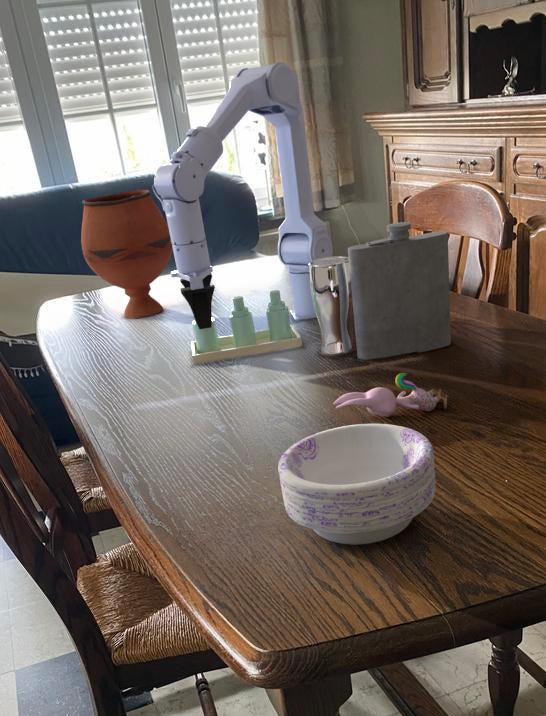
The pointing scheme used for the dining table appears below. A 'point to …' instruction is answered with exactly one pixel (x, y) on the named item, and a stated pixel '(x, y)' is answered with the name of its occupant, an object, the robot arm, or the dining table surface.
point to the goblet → (127, 245)
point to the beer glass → (333, 303)
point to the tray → (246, 347)
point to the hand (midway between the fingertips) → (204, 322)
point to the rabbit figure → (392, 398)
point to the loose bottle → (206, 338)
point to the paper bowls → (358, 481)
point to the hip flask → (400, 293)
